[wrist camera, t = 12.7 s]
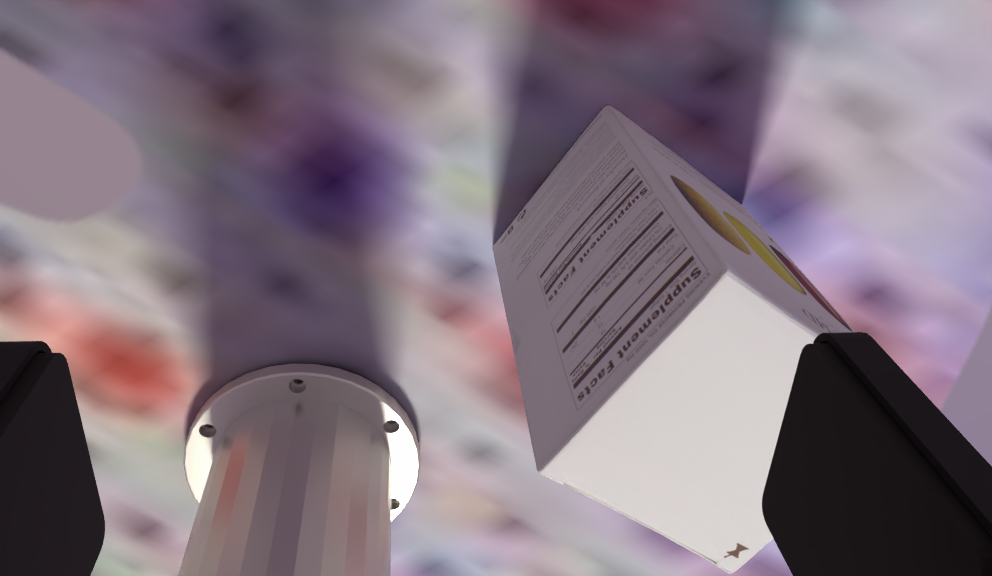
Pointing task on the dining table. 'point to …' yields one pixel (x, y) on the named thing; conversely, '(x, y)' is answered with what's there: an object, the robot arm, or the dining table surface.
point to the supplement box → (655, 339)
